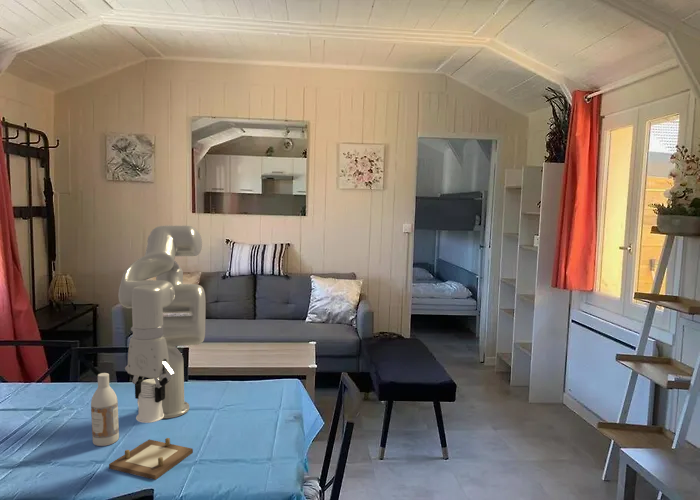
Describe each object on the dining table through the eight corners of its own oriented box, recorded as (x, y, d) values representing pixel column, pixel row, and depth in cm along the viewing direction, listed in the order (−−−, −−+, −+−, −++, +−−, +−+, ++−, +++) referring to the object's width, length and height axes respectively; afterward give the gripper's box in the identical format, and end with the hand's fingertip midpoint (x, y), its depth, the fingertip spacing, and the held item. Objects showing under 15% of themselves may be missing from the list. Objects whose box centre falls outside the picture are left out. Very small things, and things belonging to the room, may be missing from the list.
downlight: (128, 419, 140) (128, 383, 139) (148, 409, 147) (148, 375, 146) (152, 426, 137) (152, 389, 136) (171, 416, 144) (171, 380, 143)
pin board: (109, 468, 139) (108, 456, 139) (149, 443, 153) (148, 432, 153) (155, 479, 134) (155, 467, 133) (192, 452, 148) (192, 441, 147)
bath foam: (87, 444, 152) (84, 377, 150) (105, 434, 158) (102, 369, 156) (106, 448, 150) (104, 379, 147) (124, 437, 156) (121, 371, 154)
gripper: (111, 332, 139) (114, 399, 141) (165, 339, 133) (167, 409, 135) (132, 326, 146) (134, 389, 148) (184, 332, 140) (186, 398, 142)
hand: (150, 398), depth 141 cm, fingers closed on downlight, 5 cm apart
